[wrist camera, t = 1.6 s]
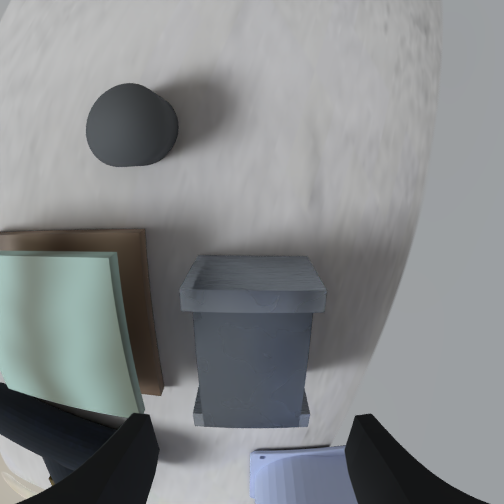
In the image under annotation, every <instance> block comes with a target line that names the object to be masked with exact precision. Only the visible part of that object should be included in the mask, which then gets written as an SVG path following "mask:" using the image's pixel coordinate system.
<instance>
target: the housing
mask: <svg viewBox="0 0 504 504" xmlns="http://www.w3.org/2000/svg"><path fill="white" fill-rule="evenodd" d="M179 291H180V303H181V311H190V312H193V321H194V334H195V346H196V357H197V368H198V378H199V387H198V392H197V397H196V401H195V406H194V411H193V417H194V424H195V426H204V427H224V428H288V427H308V423H309V417H310V411H309V407H308V402H307V397H306V393H305V388H304V386H305V379H306V371H307V363H308V354H309V346H310V337H311V327H312V317H313V313H316V312H325V303H326V294H327V290H326V288H325V286H324V285H323V283H322V281H321V279H320V278H319V276H318V274H317V272H316V271H315V269H314V267H313V266H312V264H311V262H310V260H309V259H308V257H307V256H234V255H198V257H197V258H196V260H195V262H194V264H193V265H192V267H191V269H190V271H189V273H188V274H187V276H186V278H185V280H184V282H183V283H182V285H181V287H180V289H179Z"/></svg>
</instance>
